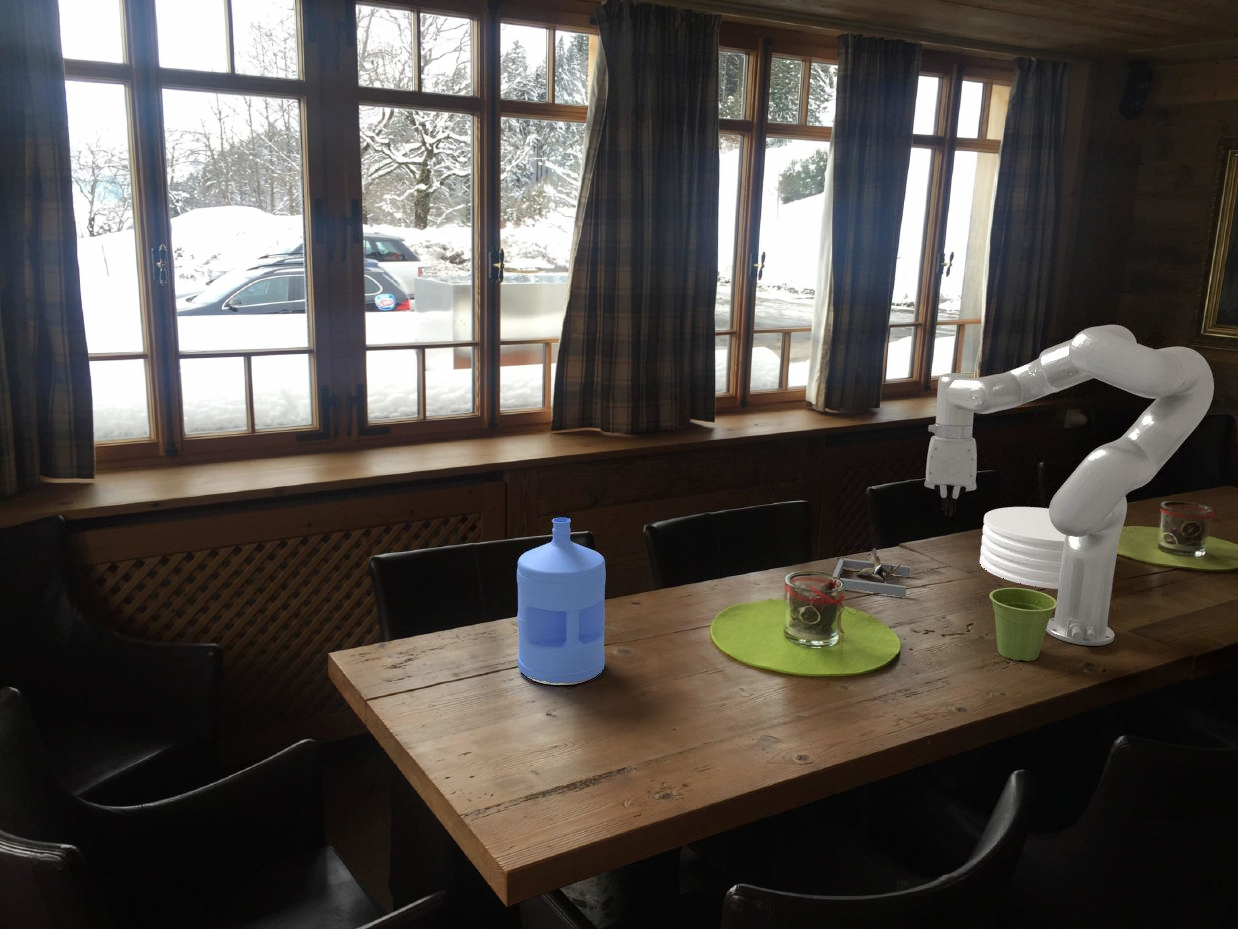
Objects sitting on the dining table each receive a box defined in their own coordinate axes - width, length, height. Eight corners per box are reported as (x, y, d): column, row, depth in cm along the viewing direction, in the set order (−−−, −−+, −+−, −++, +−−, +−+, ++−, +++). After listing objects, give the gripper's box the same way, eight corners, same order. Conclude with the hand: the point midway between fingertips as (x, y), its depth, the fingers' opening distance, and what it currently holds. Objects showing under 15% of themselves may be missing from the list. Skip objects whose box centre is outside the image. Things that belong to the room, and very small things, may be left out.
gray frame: (905, 598, 217) (906, 587, 217) (830, 589, 223) (831, 578, 222) (909, 576, 231) (910, 566, 231) (839, 568, 236) (840, 558, 236)
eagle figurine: (904, 575, 229) (875, 558, 235) (898, 555, 224) (869, 538, 231) (880, 597, 227) (852, 578, 234) (874, 576, 222) (845, 558, 229)
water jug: (508, 657, 185) (506, 512, 179) (588, 646, 191) (589, 504, 184) (531, 694, 171) (530, 537, 164) (617, 680, 176) (619, 528, 170)
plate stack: (964, 549, 252) (969, 505, 250) (1077, 552, 251) (1083, 508, 249) (1001, 588, 225) (1006, 539, 223) (1128, 591, 224) (1135, 543, 221)
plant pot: (990, 637, 198) (996, 583, 195) (1055, 650, 192) (1062, 595, 189) (977, 658, 188) (983, 601, 185) (1045, 673, 182) (1052, 615, 179)
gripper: (916, 432, 213) (911, 516, 217) (991, 436, 208) (985, 521, 212) (918, 427, 220) (913, 508, 223) (990, 430, 215) (984, 513, 219)
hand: (948, 514), depth 218 cm, fingers closed
